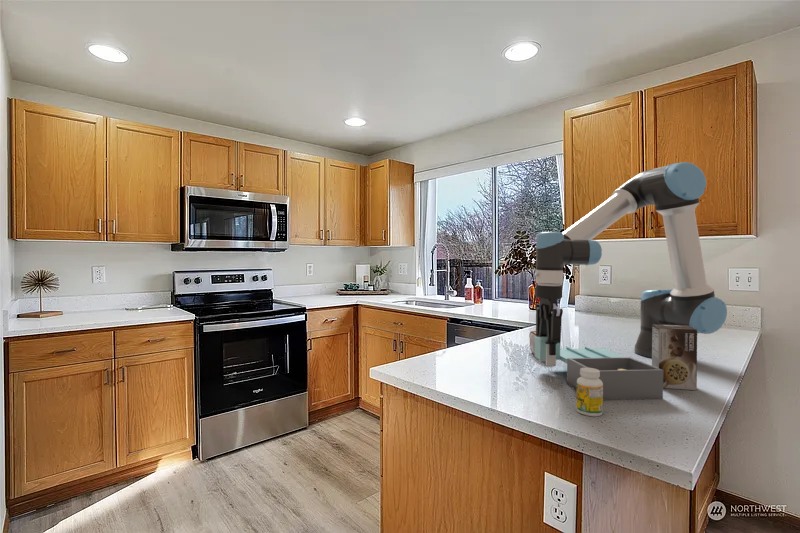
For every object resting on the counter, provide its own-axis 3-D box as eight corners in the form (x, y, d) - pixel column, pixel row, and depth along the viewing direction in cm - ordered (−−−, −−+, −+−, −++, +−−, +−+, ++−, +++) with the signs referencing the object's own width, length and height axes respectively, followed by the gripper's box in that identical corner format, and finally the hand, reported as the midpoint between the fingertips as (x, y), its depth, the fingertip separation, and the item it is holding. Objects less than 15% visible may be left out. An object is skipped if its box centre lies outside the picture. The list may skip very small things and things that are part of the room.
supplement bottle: (607, 417, 91) (607, 373, 91) (582, 417, 91) (583, 373, 91) (595, 408, 97) (596, 366, 96) (572, 407, 97) (573, 366, 96)
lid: (604, 352, 133) (604, 333, 133) (631, 363, 120) (632, 342, 119) (528, 352, 131) (528, 333, 131) (547, 364, 117) (547, 343, 117)
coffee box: (687, 383, 116) (689, 325, 115) (697, 391, 109) (698, 329, 109) (650, 380, 118) (651, 323, 118) (657, 387, 112) (659, 327, 111)
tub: (629, 382, 116) (630, 357, 116) (662, 398, 103) (663, 370, 103) (566, 383, 115) (567, 358, 115) (592, 400, 102) (593, 371, 102)
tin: (550, 362, 138) (550, 336, 138) (540, 362, 138) (541, 336, 138) (536, 351, 153) (536, 328, 153) (527, 351, 153) (528, 328, 153)
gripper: (525, 282, 132) (523, 356, 133) (549, 286, 115) (547, 371, 116) (548, 282, 133) (547, 356, 133) (575, 287, 116) (573, 371, 116)
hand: (547, 363), depth 125 cm, fingers closed on lid, 4 cm apart
